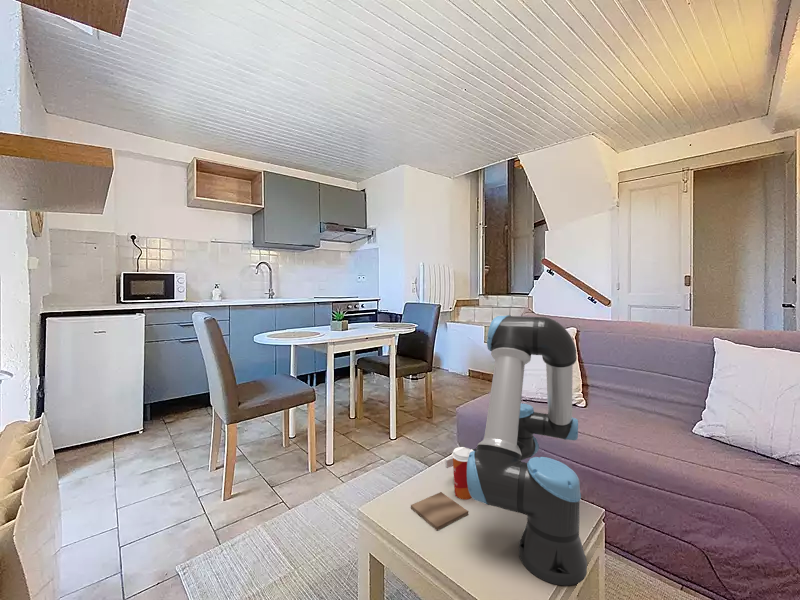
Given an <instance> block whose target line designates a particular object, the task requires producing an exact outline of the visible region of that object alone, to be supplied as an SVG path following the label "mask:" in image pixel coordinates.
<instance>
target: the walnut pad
mask: <svg viewBox="0 0 800 600" xmlns="http://www.w3.org/2000/svg"><path fill="white" fill-rule="evenodd" d="M410 509H411V510H412V511H413V512H414V513H416V514H417V515H418V516H419V517H421V519H423V521H425V522H427V524H429V525H430V526H431V527H432V528H433V529H434V530H436V531H439V530H441V529H443V528H445V527H447V526H448V525H449V526H450V525H451V524H453V523H455V522H458V521H460V519H463V518H465V517H467V516H469V510H467V509H466V508H465V507H464V506H462V505H460V504H459V503H457V502H456V501H454V500H453V499H452V498H450V497H449V496H448V495H446V494H445V493H444V492H442V491H439V492H437V493H435V494H433V495H431V496H429V497H426V498H423V499H420V500H419V501H417V502H414V503H413V504H410Z"/></svg>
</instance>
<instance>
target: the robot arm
mask: <svg viewBox="0 0 800 600" xmlns="http://www.w3.org/2000/svg"><path fill="white" fill-rule="evenodd" d="M487 331H488V332H487V336H486V337H487V340H486V346H487V347H486V348H487V349H488V350H489V352H491V353H490V355H491V357H492V358H493V360H494V366H493V367H494V369H493V375H492V381H491V388H490V394H489V395H490V396H489V403H488V409H487V417H486V423H485V424H486V425H485V430H484V436H483V439H482V440H481V441H480V442H478V443H477V445H476V448H471V449H472V450H473V451H472V452H470V453H469V458H468V461H467V485H468V490H469V493H470V495H471V497H472V498H471V499H473V500H475V501H476V502H479V503H483V504H485V505H487V506H493V507H496V508H499V509H504V510H507V511H511V512H515V513H517V514H523V515H526V516H527V518H526V525H525V527H524V529H523V532H522V534H521V536H520V537H521V538H520V539H519V543H518V544H519V546H518V553H519V557H520V562H521V563H522V564H523V566H524V567H525V568H526V569H527V570H528V571H529V572H530V573H531V574H533V576H535V577H537V578H538V579H541V580H542V581H544V582H547V583H550V584H553V585H559V586H574V585H577V584H579V583H581V582H582V581H584V579H585V578H586V576H587V573H588V572H587V570H588V568H587V567H588V561H587V560H588V559H587V557H586V554H585V550H584V547H583V543H582V541H581V537H580V502H581V498H582V493H581V489H580V488H581V487H580V478H579V477H578V475H577V473H576V472H575V471H574V470H573V469H572V468H570V467H569V466H568V465H567V464H565V463H564V462H561V461H559V460H556V459H553V458H550V457H546V456H539V457H538V456H534V455H536V454H537V453H538V451H539V448H540V445H539V443H538V440H537V437H536V436H534V435H539V436H545V437H549V438H556V439H560V440H563V441H564V440H566V441H567V440H568V441H577V440H578V439H579V419H577V418H576V417H573V369H574V368H573V367H574V366H573V365H574V364H576V362H577V347H576V345H575V342H574V339H573V338H572V336H571V334H570V333H569V331H567V329H566V328H565V326H563V325H562V324H561V323H560V322H558V321H556V320H554V319H552V318H550V317H547V316H546V317H545V316H520V315H518V316H517V315H510V314H508V315H507V314H506V315H496V316H495V317H494V318H493V319H492V320H491V323H490V325H489V327H488V330H487ZM532 356H542V361H543V362H544V363H545V364H546V365H545V366H546V367H545V369H546V393H547V394H546V396H547V398H546V399H547V413H544V412H543V413H542V412H537V411H535V410H534V407H533V406H532V405H531V404H527V403H522V394H523V385H524V376H525V366H526V365H527V364H528V363H530V362H531V359H532ZM526 459H529V460H528V461H527V462H524V461H523V460H526ZM451 467H453V457H452V456H450V457H448V458H446V459H445V469H449V468H451Z"/></svg>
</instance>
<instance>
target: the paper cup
mask: <svg viewBox="0 0 800 600" xmlns="http://www.w3.org/2000/svg"><path fill="white" fill-rule="evenodd" d="M472 449H473V448H471V449H470V448H469V447H465V446H459V447H456V448H454V449H453V452H452V453H451V457H453V466H452V467H453V485H454V495H455V497H456V498H458V499H459V500H463V501H464V500H465V501H467V500H470V499H473V498H472V497H471V495H470V493H469V490H468V485H467V461H468V458H469V453H470V452H472V451H473V450H472Z"/></svg>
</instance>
